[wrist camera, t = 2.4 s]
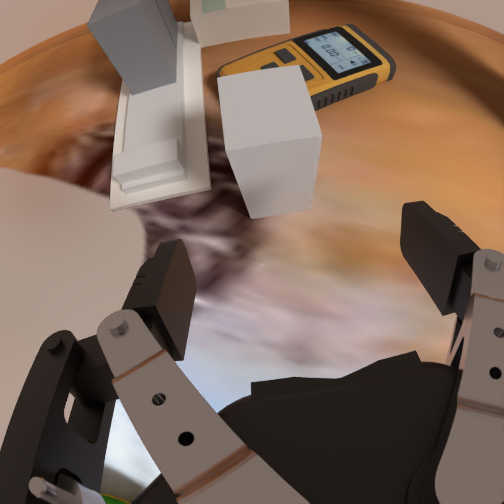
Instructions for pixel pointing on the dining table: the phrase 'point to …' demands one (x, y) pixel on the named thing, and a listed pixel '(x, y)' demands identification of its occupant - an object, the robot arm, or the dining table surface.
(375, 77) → the electronic device
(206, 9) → the block
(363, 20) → the dining table surface
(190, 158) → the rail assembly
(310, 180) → the block
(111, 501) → the figurine
